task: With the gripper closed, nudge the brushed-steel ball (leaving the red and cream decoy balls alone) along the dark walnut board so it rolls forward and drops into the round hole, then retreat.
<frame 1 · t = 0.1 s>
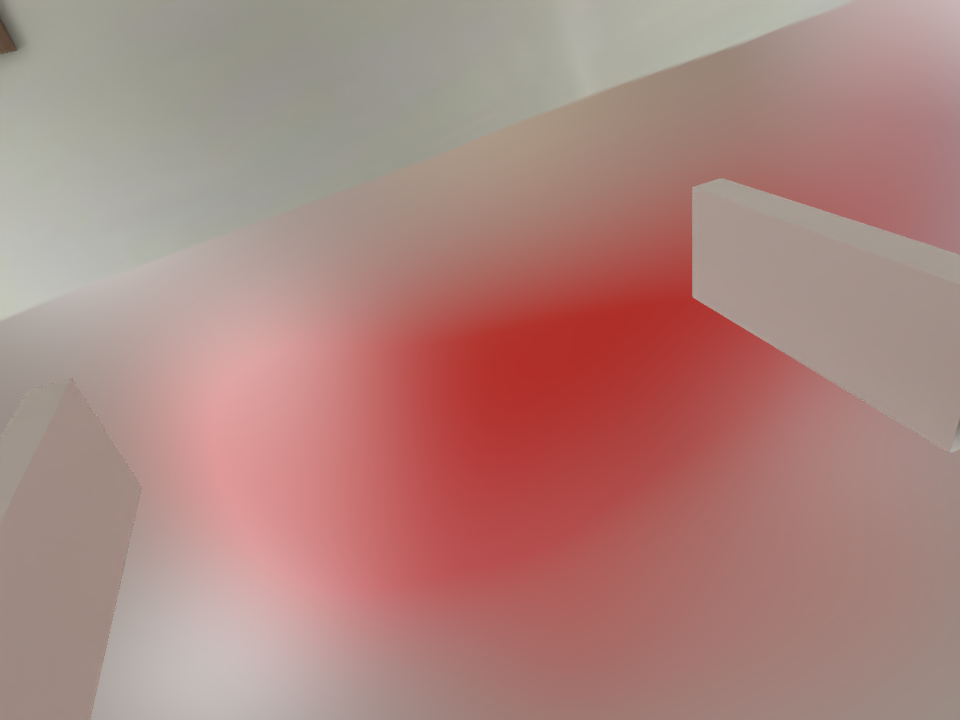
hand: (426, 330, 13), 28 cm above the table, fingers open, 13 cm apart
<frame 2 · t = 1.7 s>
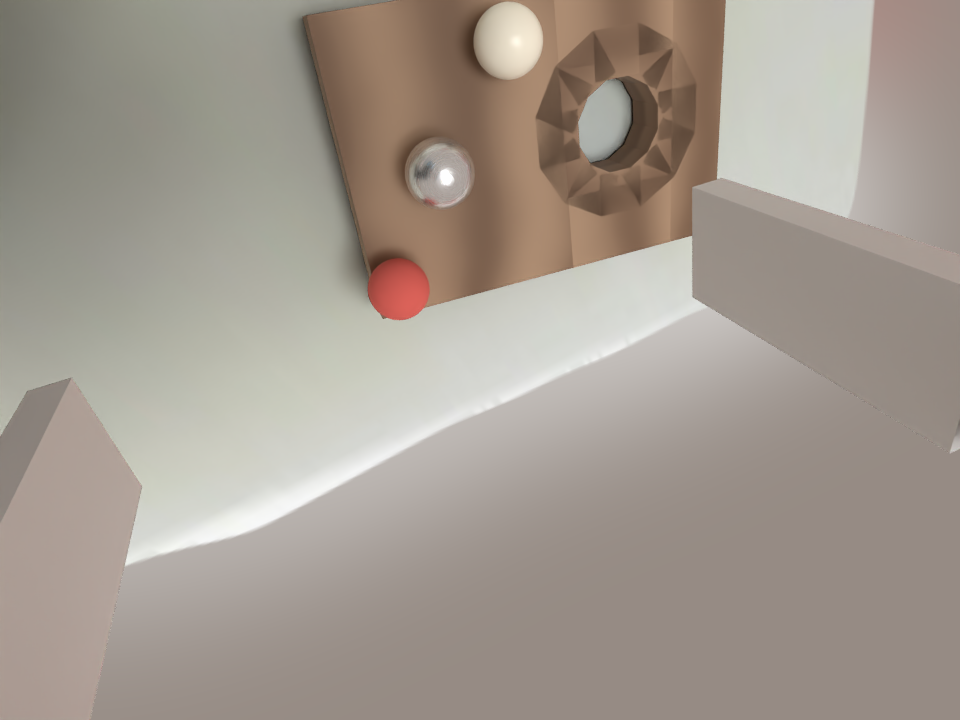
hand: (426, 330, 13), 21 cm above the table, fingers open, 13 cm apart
board: (528, 134, 33), on the table
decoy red: (398, 289, 30), point 4 cm above the table, touching board
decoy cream: (508, 41, 27), point 4 cm above the table, touching board
steel ball: (439, 173, 28), point 4 cm above the table, touching board
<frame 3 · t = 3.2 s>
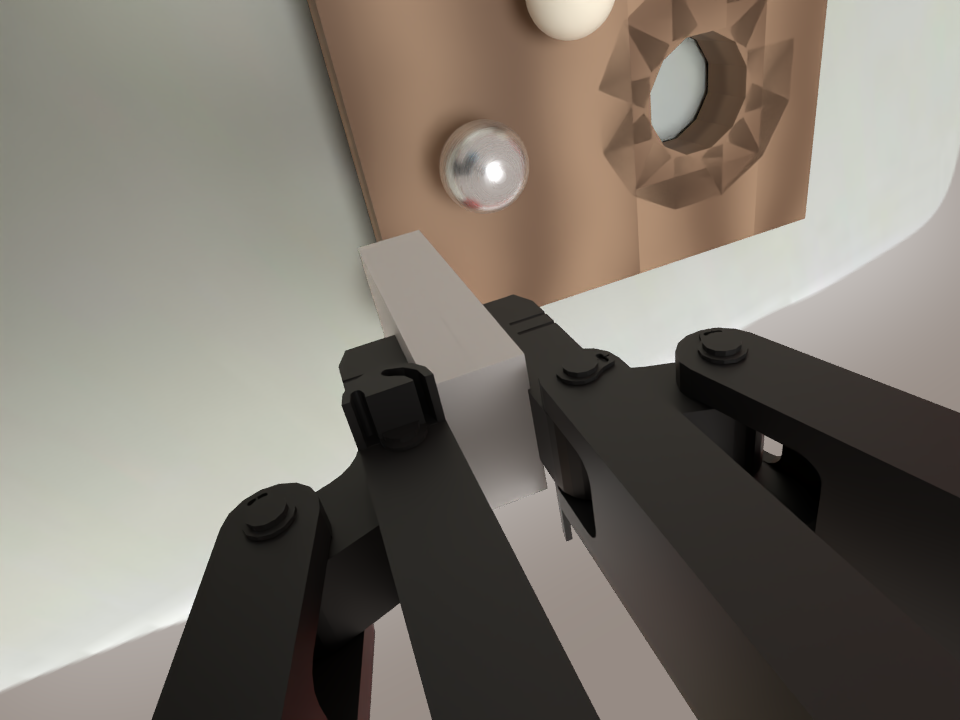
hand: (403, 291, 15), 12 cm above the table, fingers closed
board: (582, 111, 26), on the table
steel ball: (484, 167, 22), point 4 cm above the table, touching board
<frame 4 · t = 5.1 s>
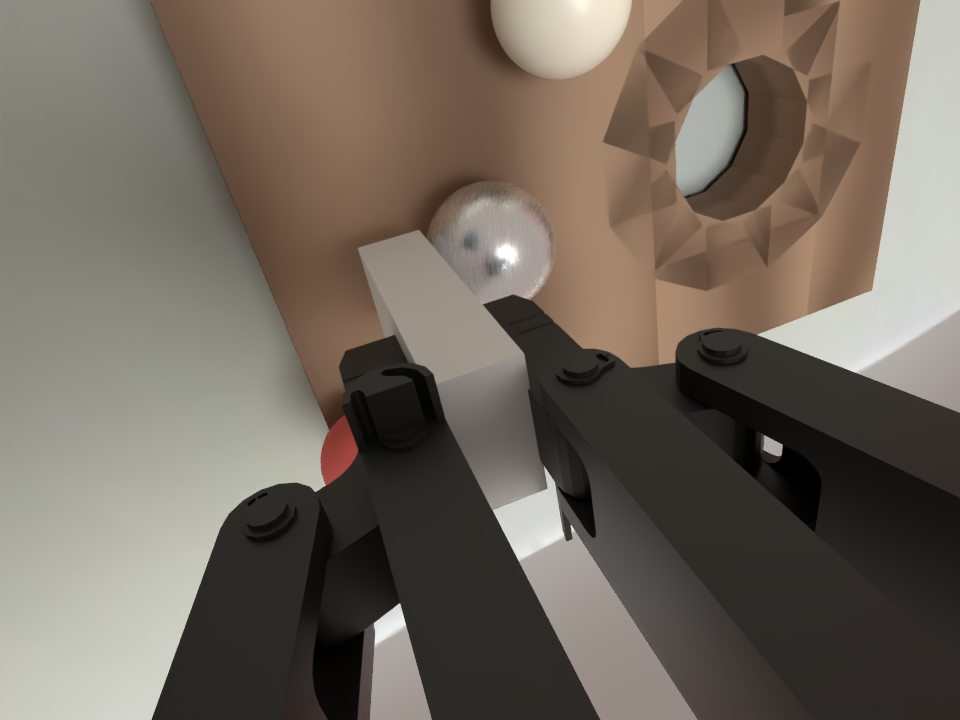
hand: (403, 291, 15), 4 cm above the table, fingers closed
board: (580, 163, 19), on the table
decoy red: (376, 458, 17), point 4 cm above the table, touching board
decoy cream: (560, 2, 13), point 4 cm above the table, touching board
steel ball: (490, 248, 15), point 4 cm above the table, tilted 49°, touching board
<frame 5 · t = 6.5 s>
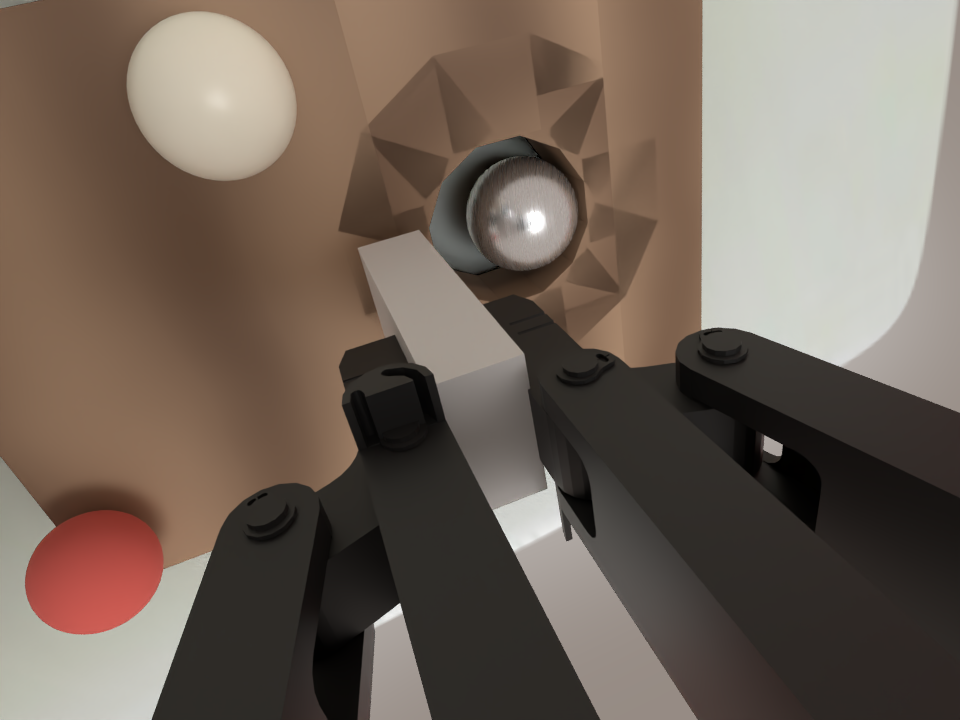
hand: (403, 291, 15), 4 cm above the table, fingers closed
board: (355, 240, 18), on the table
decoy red: (97, 570, 16), point 4 cm above the table, touching board
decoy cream: (215, 100, 12), point 4 cm above the table, touching board
steel ball: (521, 214, 18), point 2 cm above the table, tilted 64°, touching board
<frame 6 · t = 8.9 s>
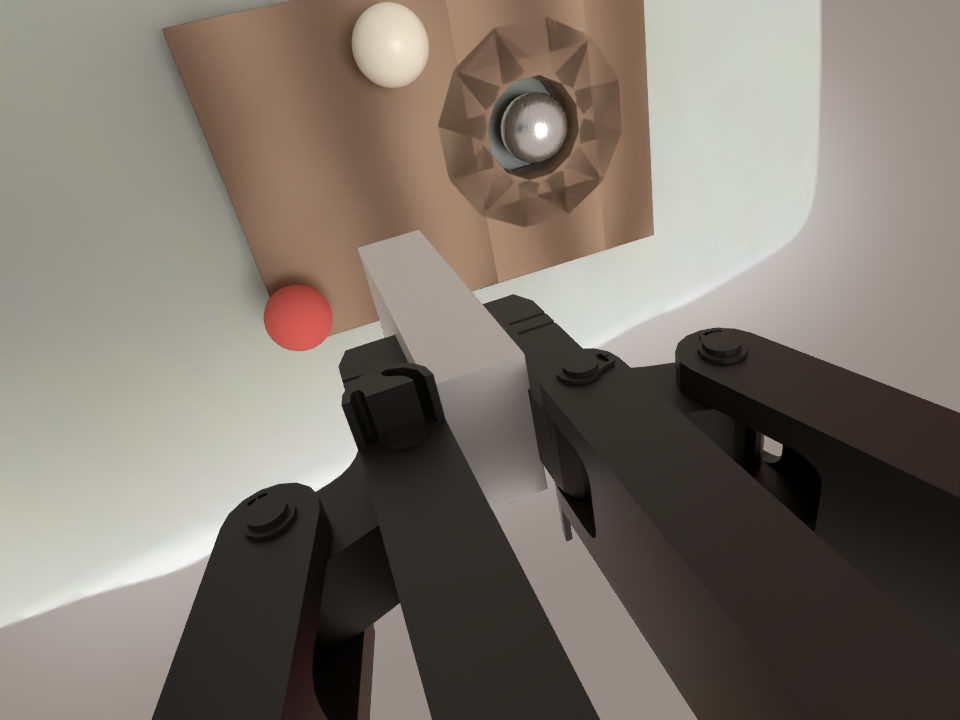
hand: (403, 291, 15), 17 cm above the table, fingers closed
board: (440, 142, 30), on the table
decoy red: (298, 318, 28), point 4 cm above the table, touching board
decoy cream: (390, 46, 24), point 4 cm above the table, touching board
steel ball: (533, 128, 30), point 2 cm above the table, tilted 53°
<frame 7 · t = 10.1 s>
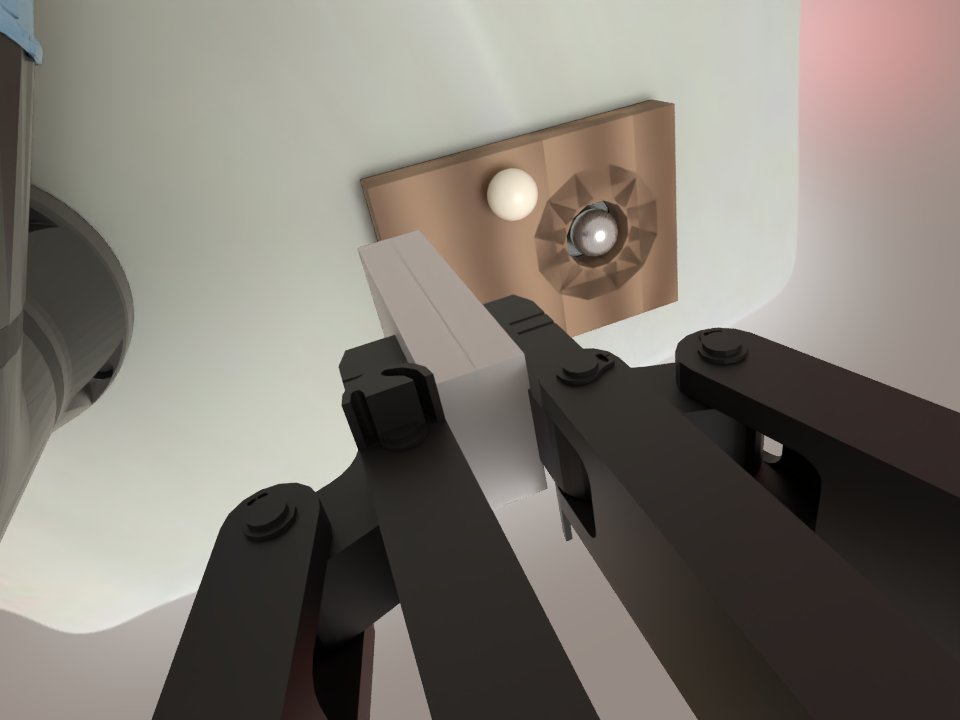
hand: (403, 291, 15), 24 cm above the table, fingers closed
board: (528, 241, 43), on the table
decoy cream: (512, 194, 36), point 4 cm above the table, touching board
steel ball: (594, 232, 42), point 2 cm above the table, tilted 47°
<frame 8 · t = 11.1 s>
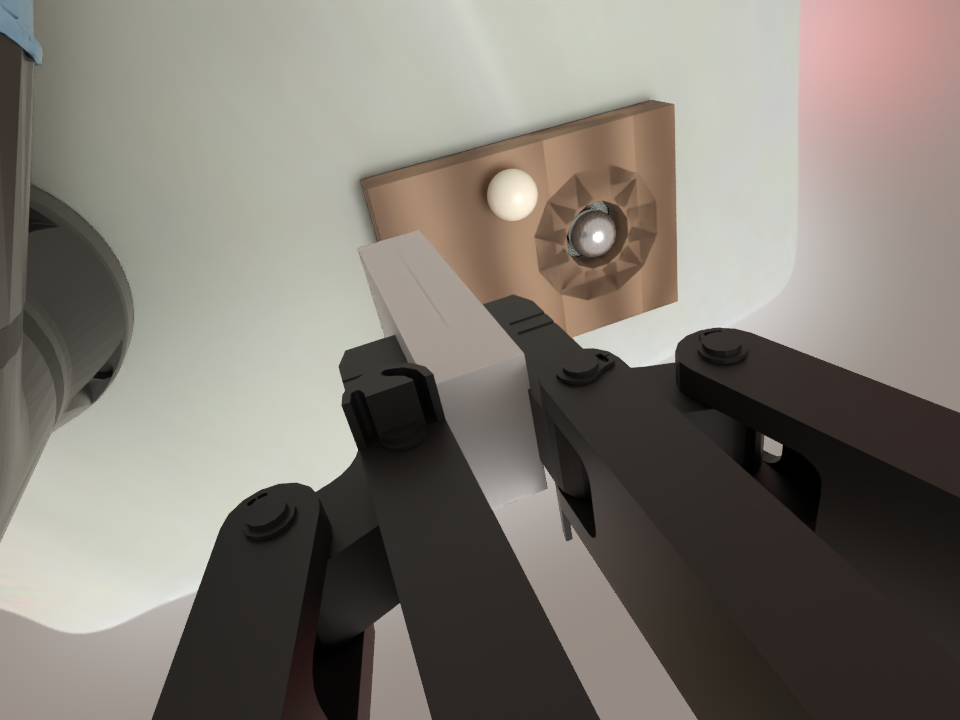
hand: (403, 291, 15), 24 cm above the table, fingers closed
board: (528, 241, 43), on the table
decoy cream: (512, 195, 36), point 4 cm above the table, touching board
steel ball: (592, 233, 42), point 2 cm above the table, tilted 42°
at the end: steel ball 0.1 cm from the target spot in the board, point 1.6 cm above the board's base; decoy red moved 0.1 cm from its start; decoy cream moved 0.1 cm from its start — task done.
